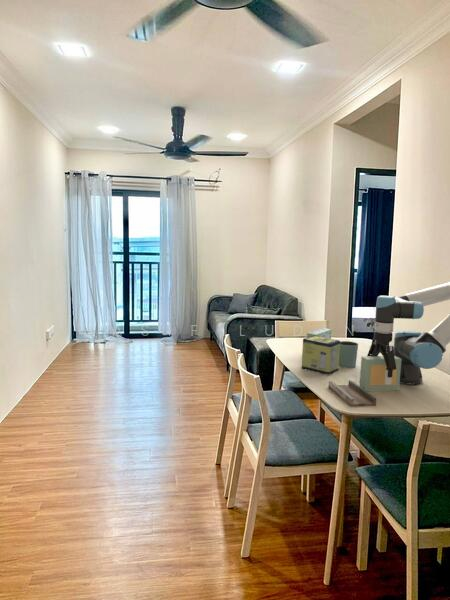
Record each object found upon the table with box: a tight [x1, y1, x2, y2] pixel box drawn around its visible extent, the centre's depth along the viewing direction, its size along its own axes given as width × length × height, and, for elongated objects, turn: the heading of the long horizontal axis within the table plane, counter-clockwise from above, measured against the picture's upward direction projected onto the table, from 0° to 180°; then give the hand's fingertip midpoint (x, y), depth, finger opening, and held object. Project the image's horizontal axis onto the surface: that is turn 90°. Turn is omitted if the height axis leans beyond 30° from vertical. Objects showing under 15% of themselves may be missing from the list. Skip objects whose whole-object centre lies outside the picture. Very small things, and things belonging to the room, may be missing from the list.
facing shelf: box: [328, 380, 377, 407], centre depth 179 cm, size 11×22×3 cm, turn 9°
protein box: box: [301, 336, 341, 376], centre depth 215 cm, size 10×16×16 cm
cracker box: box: [358, 355, 401, 392], centre depth 189 cm, size 16×5×14 cm, turn 99°
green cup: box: [339, 340, 359, 369], centre depth 223 cm, size 10×10×12 cm
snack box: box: [306, 327, 333, 339], centre depth 238 cm, size 21×6×15 cm, turn 143°
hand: (379, 379), depth 189 cm, fingers open, 13 cm apart
